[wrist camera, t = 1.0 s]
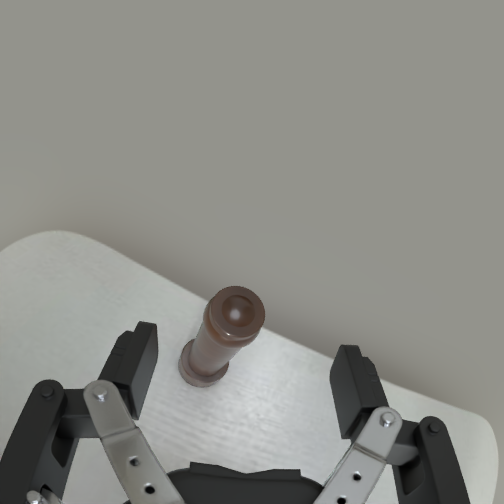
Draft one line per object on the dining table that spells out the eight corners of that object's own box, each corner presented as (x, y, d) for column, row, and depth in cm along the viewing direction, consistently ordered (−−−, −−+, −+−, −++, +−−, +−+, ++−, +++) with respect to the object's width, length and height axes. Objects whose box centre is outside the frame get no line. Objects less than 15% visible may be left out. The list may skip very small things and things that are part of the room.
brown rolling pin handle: (177, 385, 29) (199, 342, 16) (179, 343, 31) (203, 269, 19) (222, 388, 30) (278, 348, 17) (222, 346, 32) (274, 278, 20)
